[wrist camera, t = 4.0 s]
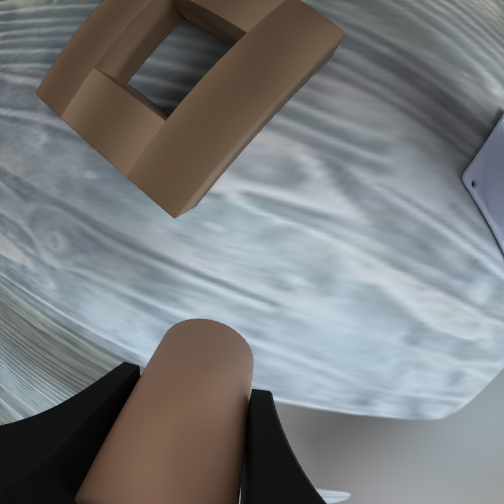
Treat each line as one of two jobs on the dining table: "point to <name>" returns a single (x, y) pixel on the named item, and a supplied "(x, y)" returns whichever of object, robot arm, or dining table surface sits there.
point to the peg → (180, 424)
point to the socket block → (199, 98)
